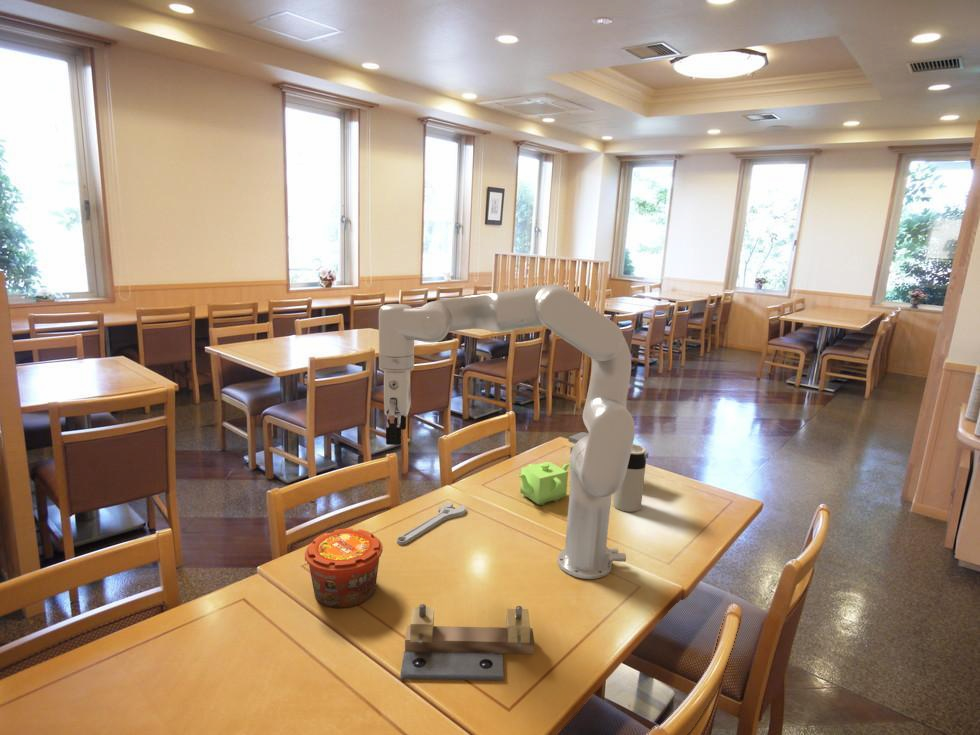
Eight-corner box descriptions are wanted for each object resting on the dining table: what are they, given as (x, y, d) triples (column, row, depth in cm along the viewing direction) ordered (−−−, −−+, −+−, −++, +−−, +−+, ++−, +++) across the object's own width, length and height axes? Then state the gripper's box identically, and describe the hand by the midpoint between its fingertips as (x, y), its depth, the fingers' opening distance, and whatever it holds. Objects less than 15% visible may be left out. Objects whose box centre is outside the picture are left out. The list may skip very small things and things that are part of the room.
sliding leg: (527, 624, 114) (528, 599, 113) (530, 651, 107) (532, 625, 106) (506, 624, 114) (507, 599, 113) (508, 651, 107) (509, 624, 106)
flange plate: (501, 658, 109) (502, 653, 109) (503, 680, 104) (503, 675, 103) (404, 656, 108) (404, 651, 108) (400, 678, 103) (400, 673, 103)
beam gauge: (531, 637, 115) (533, 600, 113) (535, 664, 108) (537, 625, 106) (407, 635, 114) (408, 597, 112) (403, 662, 107) (403, 622, 105)
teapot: (569, 491, 180) (571, 458, 177) (568, 511, 167) (571, 476, 164) (519, 486, 182) (521, 453, 179) (514, 505, 169) (516, 471, 166)
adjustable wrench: (402, 548, 145) (402, 542, 145) (384, 539, 149) (384, 533, 149) (469, 512, 164) (469, 506, 164) (452, 505, 168) (452, 499, 168)
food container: (290, 601, 123) (288, 555, 120) (336, 562, 137) (335, 520, 135) (355, 622, 117) (354, 574, 115) (396, 579, 132) (396, 536, 129)
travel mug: (644, 505, 172) (650, 447, 168) (635, 515, 166) (641, 455, 162) (618, 497, 177) (624, 441, 172) (608, 507, 170) (614, 448, 166)
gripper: (410, 372, 119) (409, 451, 123) (417, 353, 136) (416, 424, 140) (372, 370, 119) (373, 450, 123) (384, 352, 136) (384, 423, 140)
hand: (396, 436), depth 131 cm, fingers open, 9 cm apart
